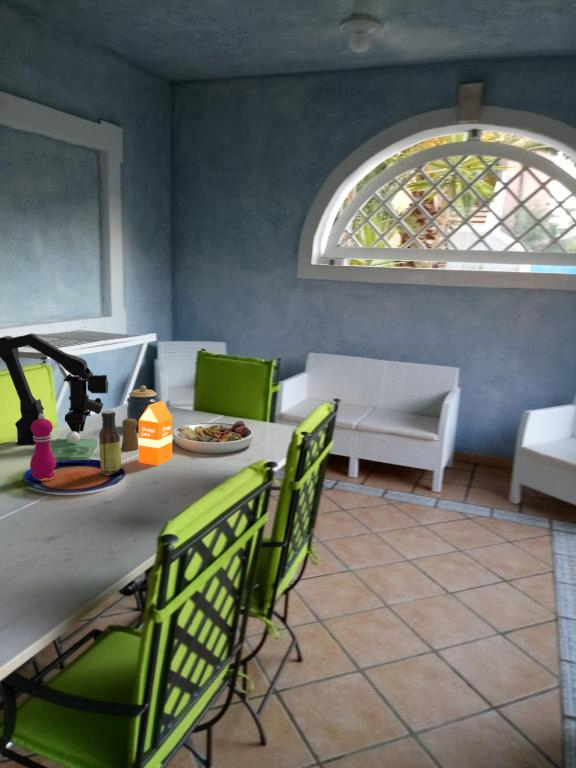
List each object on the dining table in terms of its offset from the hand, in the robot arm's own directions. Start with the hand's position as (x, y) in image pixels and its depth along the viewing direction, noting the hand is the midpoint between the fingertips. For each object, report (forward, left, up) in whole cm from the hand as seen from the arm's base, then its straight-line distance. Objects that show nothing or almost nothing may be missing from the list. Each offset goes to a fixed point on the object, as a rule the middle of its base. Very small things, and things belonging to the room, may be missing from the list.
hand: (79, 434), depth 211 cm
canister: (+21, +22, -3) cm, 31 cm away
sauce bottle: (+16, -35, -3) cm, 39 cm away
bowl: (+49, -2, -4) cm, 49 cm away
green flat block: (0, -15, -3) cm, 15 cm away
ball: (0, -10, +2) cm, 11 cm away
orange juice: (+29, -22, -3) cm, 37 cm away
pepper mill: (-3, -39, -3) cm, 39 cm away
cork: (+19, -8, -3) cm, 21 cm away
